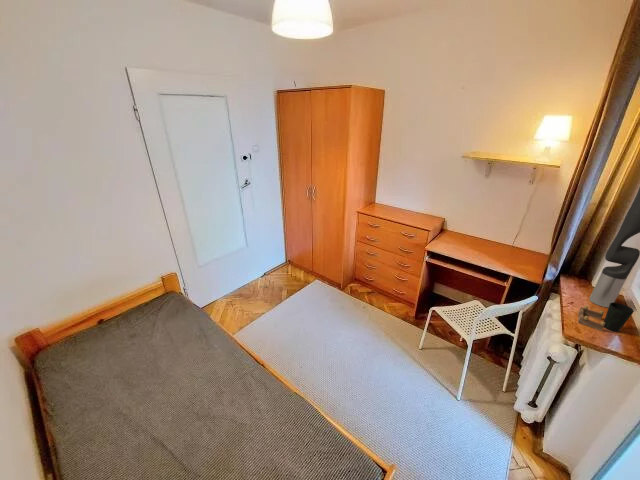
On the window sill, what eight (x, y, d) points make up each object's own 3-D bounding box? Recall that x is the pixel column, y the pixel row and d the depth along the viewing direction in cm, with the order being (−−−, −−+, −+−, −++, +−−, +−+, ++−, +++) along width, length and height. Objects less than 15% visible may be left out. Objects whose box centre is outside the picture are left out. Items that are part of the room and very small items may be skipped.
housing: (578, 311, 141) (581, 304, 139) (600, 318, 135) (604, 311, 134) (578, 323, 132) (581, 315, 130) (601, 331, 127) (605, 323, 125)
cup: (598, 320, 134) (609, 300, 130) (620, 327, 130) (632, 306, 125) (600, 328, 128) (611, 307, 124) (623, 336, 124) (635, 314, 120)
